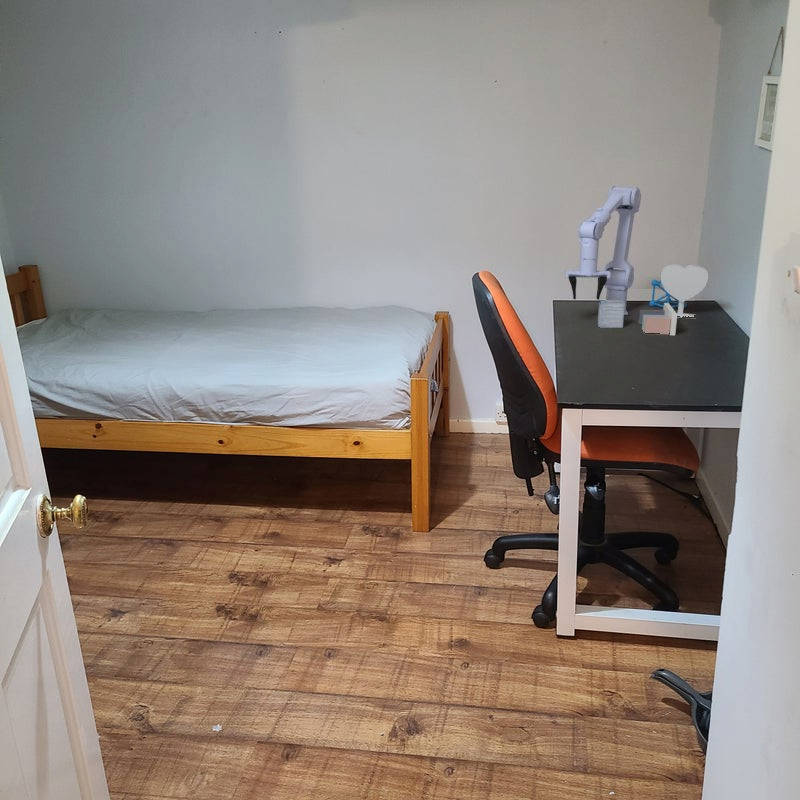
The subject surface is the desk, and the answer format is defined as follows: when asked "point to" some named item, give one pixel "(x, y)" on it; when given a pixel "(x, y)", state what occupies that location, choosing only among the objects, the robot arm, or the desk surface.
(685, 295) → the heart sculpture
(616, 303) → the medicine box
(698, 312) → the desk surface
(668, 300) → the molecular structure
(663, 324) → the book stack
